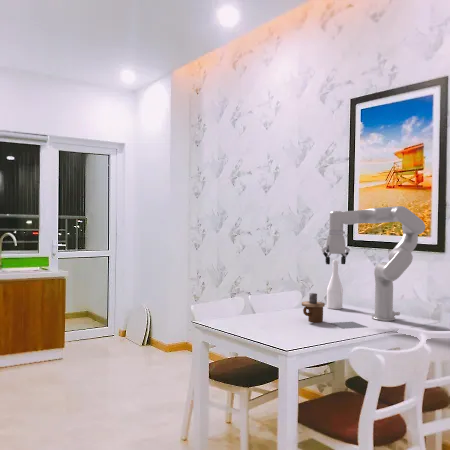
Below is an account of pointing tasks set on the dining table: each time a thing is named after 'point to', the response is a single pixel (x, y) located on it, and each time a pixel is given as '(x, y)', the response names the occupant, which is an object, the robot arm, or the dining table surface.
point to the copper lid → (313, 301)
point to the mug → (314, 314)
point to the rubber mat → (348, 325)
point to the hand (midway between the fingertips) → (335, 264)
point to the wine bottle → (334, 289)
